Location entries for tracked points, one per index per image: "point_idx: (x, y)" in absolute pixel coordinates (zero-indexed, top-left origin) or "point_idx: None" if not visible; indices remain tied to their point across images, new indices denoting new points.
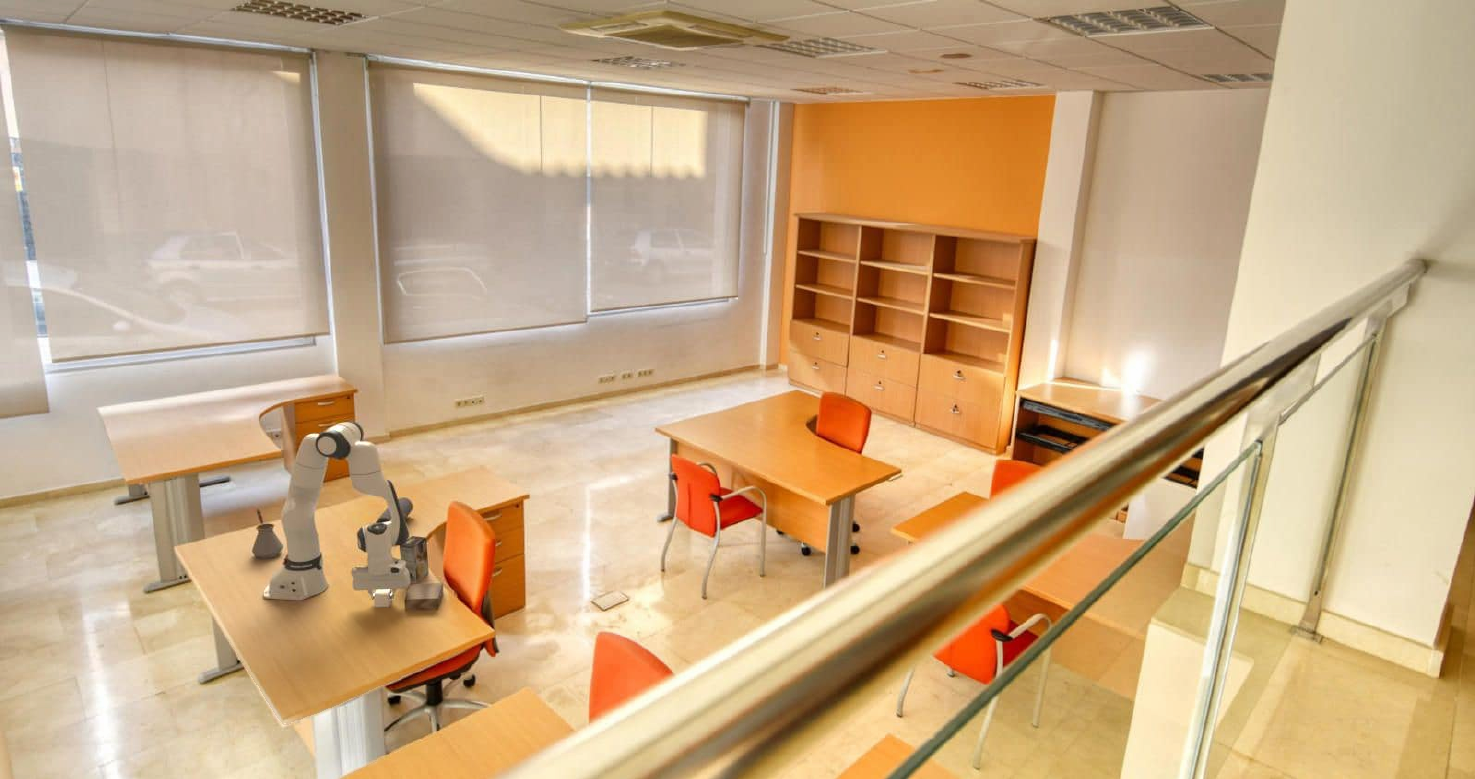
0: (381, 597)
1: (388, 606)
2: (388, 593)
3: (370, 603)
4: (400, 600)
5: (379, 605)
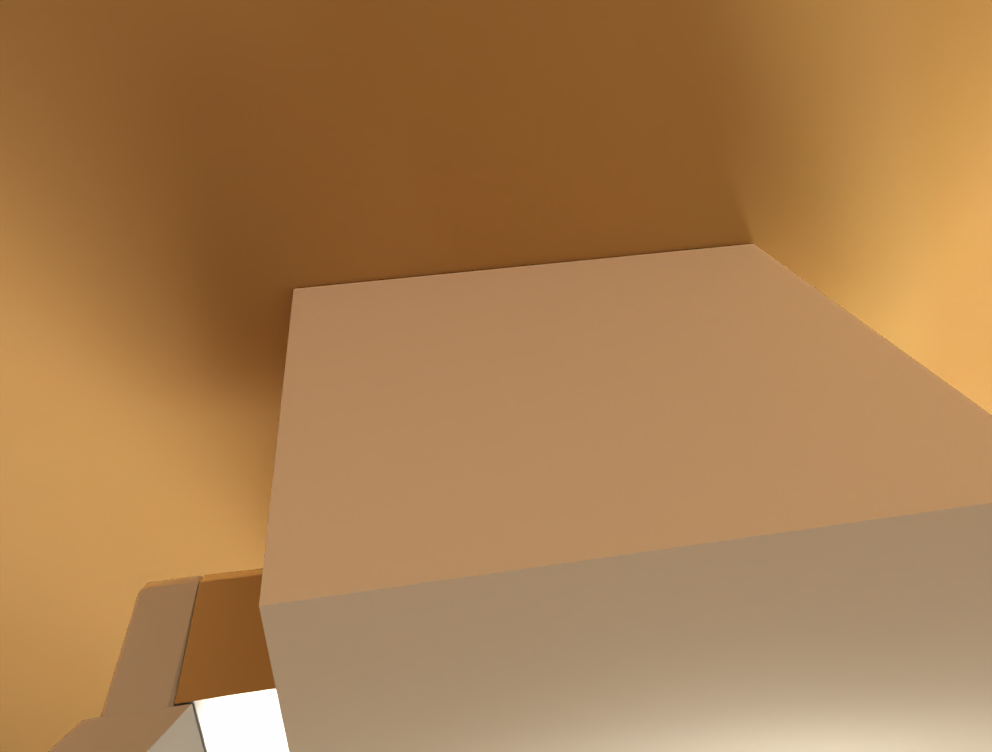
0: (627, 463)
1: (303, 291)
2: (290, 748)
3: None
4: (68, 658)
5: (621, 277)
